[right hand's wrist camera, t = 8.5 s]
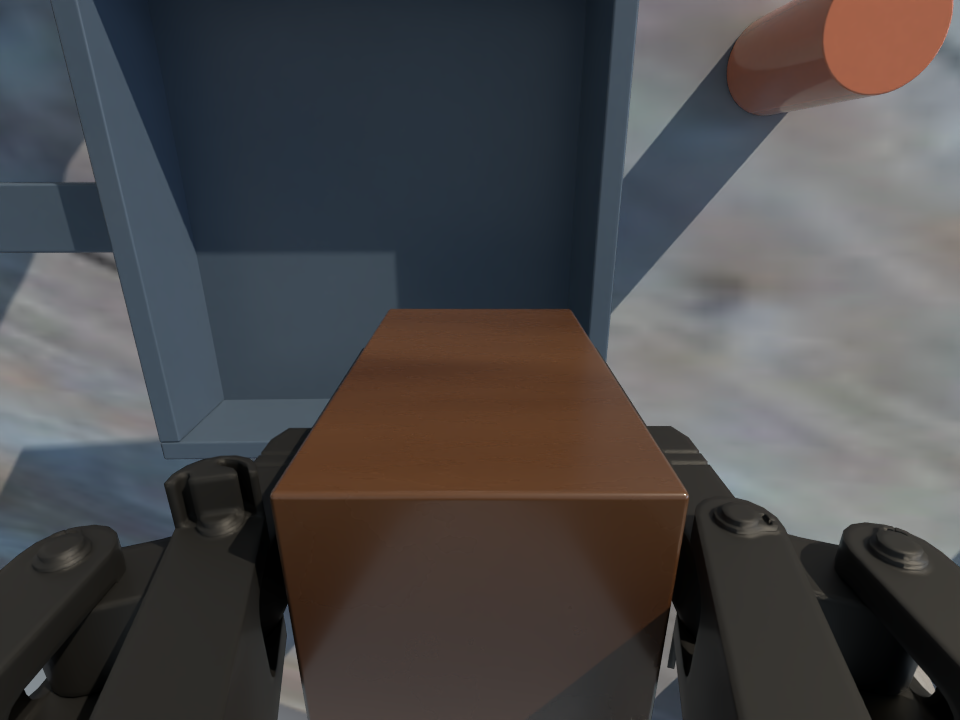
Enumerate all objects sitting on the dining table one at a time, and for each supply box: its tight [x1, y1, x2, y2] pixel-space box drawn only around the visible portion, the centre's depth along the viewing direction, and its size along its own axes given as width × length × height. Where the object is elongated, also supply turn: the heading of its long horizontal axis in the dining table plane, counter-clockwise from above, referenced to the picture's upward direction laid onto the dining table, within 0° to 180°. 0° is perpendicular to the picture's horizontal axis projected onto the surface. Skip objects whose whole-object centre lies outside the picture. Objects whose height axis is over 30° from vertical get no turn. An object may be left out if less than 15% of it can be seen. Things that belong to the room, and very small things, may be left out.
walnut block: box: [270, 309, 689, 720], centre depth 11 cm, size 5×5×8 cm
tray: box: [0, 0, 639, 459], centre depth 17 cm, size 19×32×10 cm, turn 90°
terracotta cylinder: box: [727, 0, 953, 116], centre depth 24 cm, size 5×5×8 cm
